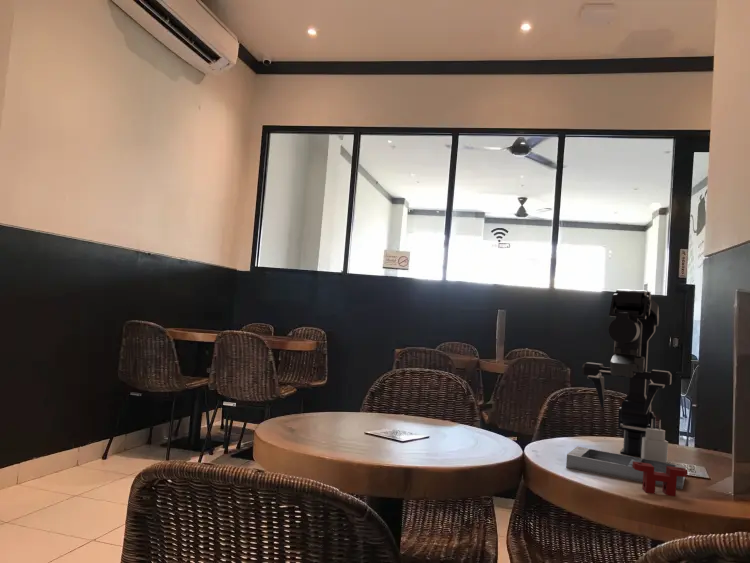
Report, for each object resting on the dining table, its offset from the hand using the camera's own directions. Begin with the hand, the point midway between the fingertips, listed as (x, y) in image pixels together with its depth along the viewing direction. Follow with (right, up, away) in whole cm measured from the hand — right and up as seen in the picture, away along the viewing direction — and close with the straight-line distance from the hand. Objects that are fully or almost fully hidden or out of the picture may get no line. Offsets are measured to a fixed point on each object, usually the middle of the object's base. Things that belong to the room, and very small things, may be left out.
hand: (623, 410), depth 134 cm
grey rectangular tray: (0, -15, 0) cm, 14 cm away
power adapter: (+10, -16, +7) cm, 20 cm away
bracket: (+6, -11, -16) cm, 21 cm away
